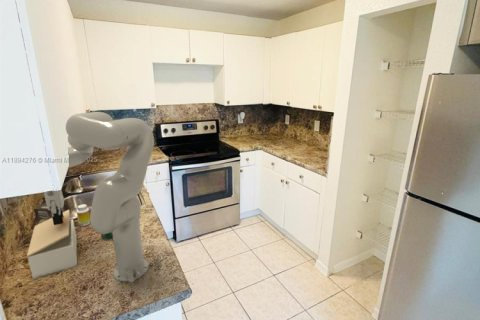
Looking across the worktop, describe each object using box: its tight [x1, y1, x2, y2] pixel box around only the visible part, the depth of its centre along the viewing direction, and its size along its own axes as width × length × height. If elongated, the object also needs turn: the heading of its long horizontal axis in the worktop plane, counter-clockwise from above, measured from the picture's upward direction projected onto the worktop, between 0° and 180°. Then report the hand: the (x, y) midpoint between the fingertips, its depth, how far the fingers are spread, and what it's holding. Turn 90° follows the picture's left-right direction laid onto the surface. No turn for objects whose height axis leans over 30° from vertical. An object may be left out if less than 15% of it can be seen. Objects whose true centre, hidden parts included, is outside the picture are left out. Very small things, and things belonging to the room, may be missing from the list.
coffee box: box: [33, 202, 64, 225], centre depth 121 cm, size 9×6×16 cm
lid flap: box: [26, 209, 71, 258], centre depth 105 cm, size 24×14×6 cm, turn 32°
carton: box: [27, 219, 78, 280], centre depth 108 cm, size 24×14×10 cm, turn 32°
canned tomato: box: [100, 231, 113, 241], centre depth 122 cm, size 8×8×11 cm
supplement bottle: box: [76, 203, 91, 227], centre depth 133 cm, size 6×6×10 cm
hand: (58, 221), depth 106 cm, fingers closed on lid flap, 3 cm apart
